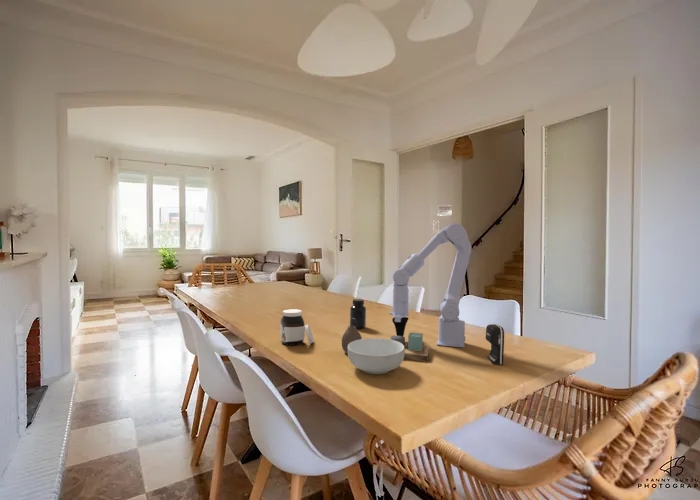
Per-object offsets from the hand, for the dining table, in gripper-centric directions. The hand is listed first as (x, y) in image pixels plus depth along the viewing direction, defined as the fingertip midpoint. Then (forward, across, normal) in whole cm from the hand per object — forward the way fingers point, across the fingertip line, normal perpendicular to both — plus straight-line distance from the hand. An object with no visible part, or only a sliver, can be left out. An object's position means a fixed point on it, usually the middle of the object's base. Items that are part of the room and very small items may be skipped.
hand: (400, 337), depth 135 cm
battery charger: (+2, +14, +32) cm, 34 cm away
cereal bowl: (+2, +32, -2) cm, 32 cm away
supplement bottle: (+2, -15, -20) cm, 25 cm away
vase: (+2, +19, -13) cm, 23 cm away
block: (+2, +8, +6) cm, 10 cm away
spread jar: (+2, +14, -36) cm, 38 cm away
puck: (+2, +6, 0) cm, 6 cm away
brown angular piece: (+1, +16, +3) cm, 17 cm away
